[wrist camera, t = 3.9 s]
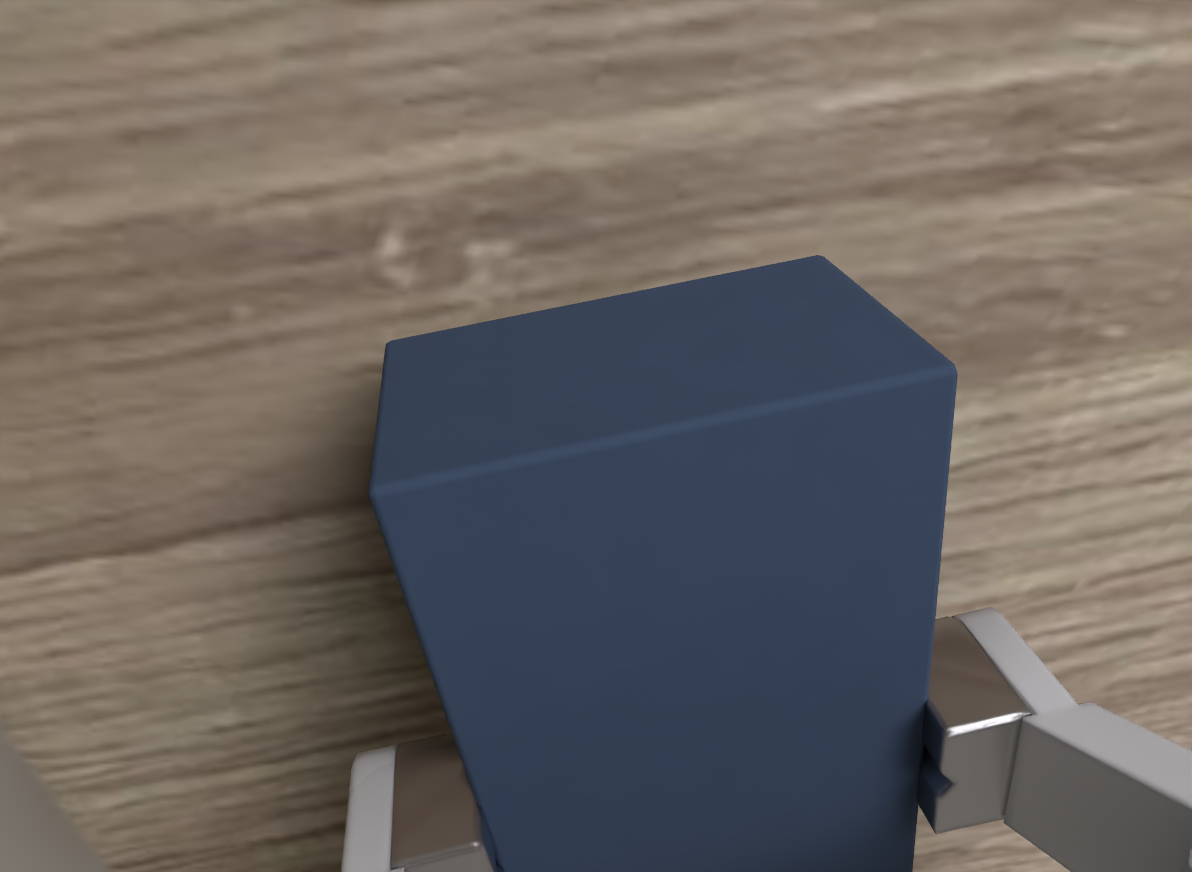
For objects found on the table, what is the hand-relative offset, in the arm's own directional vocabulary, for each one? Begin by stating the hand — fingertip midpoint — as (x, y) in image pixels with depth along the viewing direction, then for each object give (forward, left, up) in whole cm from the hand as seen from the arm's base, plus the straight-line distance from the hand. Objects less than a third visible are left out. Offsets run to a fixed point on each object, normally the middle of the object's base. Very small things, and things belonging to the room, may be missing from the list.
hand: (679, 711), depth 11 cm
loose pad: (0, 0, -2) cm, 2 cm away
